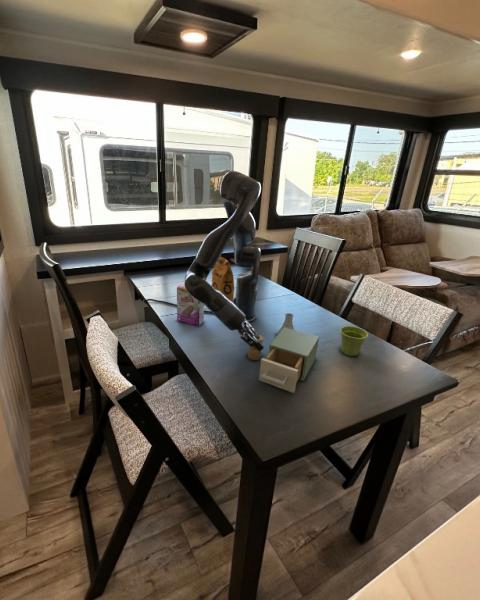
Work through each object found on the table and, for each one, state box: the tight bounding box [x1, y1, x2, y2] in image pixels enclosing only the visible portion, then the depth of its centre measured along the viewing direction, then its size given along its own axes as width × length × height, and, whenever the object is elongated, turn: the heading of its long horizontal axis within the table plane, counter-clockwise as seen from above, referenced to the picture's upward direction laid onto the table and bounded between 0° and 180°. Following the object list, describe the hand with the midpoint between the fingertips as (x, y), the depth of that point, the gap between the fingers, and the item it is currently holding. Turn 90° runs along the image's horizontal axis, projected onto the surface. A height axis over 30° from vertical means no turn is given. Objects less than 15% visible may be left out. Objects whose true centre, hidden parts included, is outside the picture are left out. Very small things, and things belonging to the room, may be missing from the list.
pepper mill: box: [247, 333, 263, 361], centre depth 112 cm, size 5×5×9 cm
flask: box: [276, 312, 295, 336], centre depth 126 cm, size 7×7×10 cm
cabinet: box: [268, 327, 320, 382], centre depth 108 cm, size 15×13×10 cm
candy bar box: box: [176, 283, 205, 327], centre depth 135 cm, size 11×5×16 cm, turn 65°
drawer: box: [258, 348, 305, 394], centre depth 99 cm, size 18×11×8 cm, turn 148°
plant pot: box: [339, 325, 369, 357], centre depth 116 cm, size 9×9×9 cm
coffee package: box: [211, 256, 235, 303], centre depth 158 cm, size 10×12×22 cm
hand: (260, 344), depth 112 cm, fingers open, 5 cm apart
